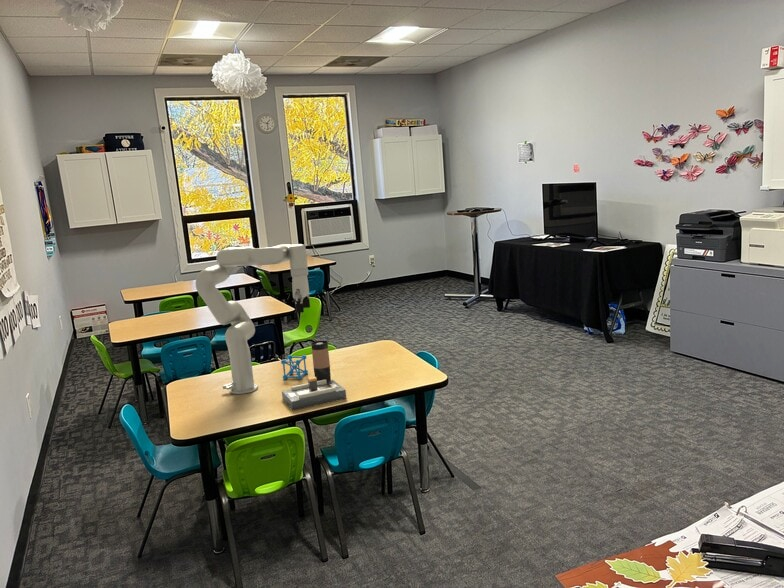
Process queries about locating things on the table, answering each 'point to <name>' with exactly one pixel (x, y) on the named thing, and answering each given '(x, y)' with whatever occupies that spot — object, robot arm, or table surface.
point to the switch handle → (312, 383)
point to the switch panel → (313, 394)
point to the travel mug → (321, 360)
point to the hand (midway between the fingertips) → (303, 309)
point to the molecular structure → (294, 367)
